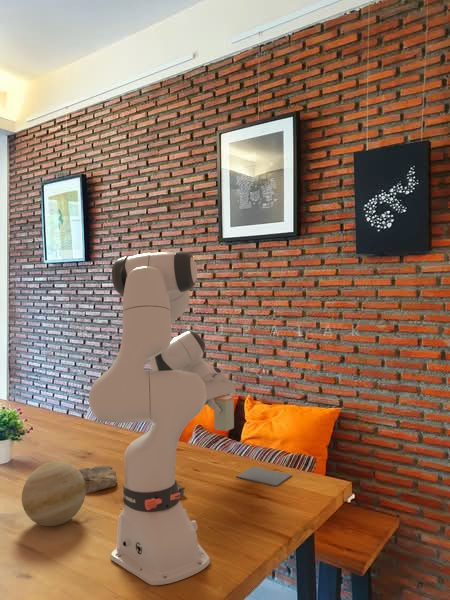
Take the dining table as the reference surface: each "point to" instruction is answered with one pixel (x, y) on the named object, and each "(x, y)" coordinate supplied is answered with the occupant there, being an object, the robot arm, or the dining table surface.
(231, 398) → the block
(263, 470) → the mat
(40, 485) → the decorative ball
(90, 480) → the grey rock
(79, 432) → the dining table surface
